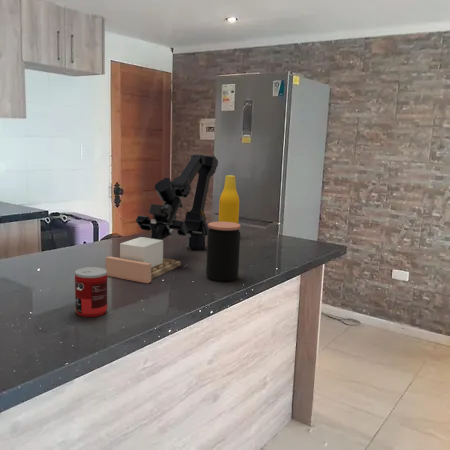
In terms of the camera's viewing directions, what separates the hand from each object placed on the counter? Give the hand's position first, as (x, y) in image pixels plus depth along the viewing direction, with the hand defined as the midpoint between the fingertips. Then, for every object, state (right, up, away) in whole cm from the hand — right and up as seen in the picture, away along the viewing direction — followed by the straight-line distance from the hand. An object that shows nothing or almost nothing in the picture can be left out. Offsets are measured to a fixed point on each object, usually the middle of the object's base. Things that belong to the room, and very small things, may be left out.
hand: (152, 245), depth 160 cm
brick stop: (-6, -10, -11) cm, 16 cm away
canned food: (-9, -16, -40) cm, 44 cm away
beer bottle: (+26, 0, +53) cm, 60 cm away
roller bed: (-1, -8, -1) cm, 9 cm away
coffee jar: (+24, -11, -6) cm, 27 cm away
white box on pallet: (-3, -6, -5) cm, 9 cm away
